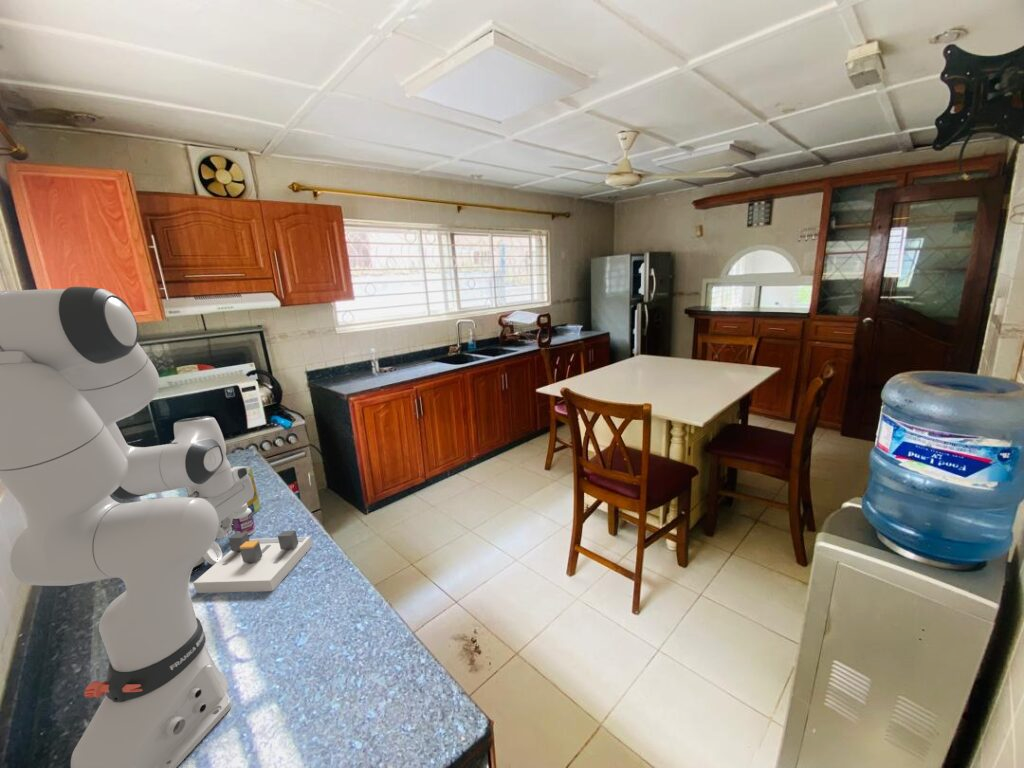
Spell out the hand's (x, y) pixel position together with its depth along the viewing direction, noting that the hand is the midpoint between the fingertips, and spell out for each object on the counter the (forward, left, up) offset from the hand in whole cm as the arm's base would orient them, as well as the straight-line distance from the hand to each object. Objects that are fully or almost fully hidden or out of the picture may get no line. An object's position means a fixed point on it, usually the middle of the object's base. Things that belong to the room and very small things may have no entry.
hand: (225, 535), depth 99 cm
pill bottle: (+25, +16, -15) cm, 33 cm away
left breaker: (+11, +7, -11) cm, 18 cm away
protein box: (+35, +29, -15) cm, 47 cm away
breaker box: (+8, 0, -15) cm, 16 cm away
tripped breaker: (+6, 0, -11) cm, 13 cm away
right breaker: (+12, -7, -11) cm, 17 cm away
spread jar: (+10, +19, -15) cm, 26 cm away
